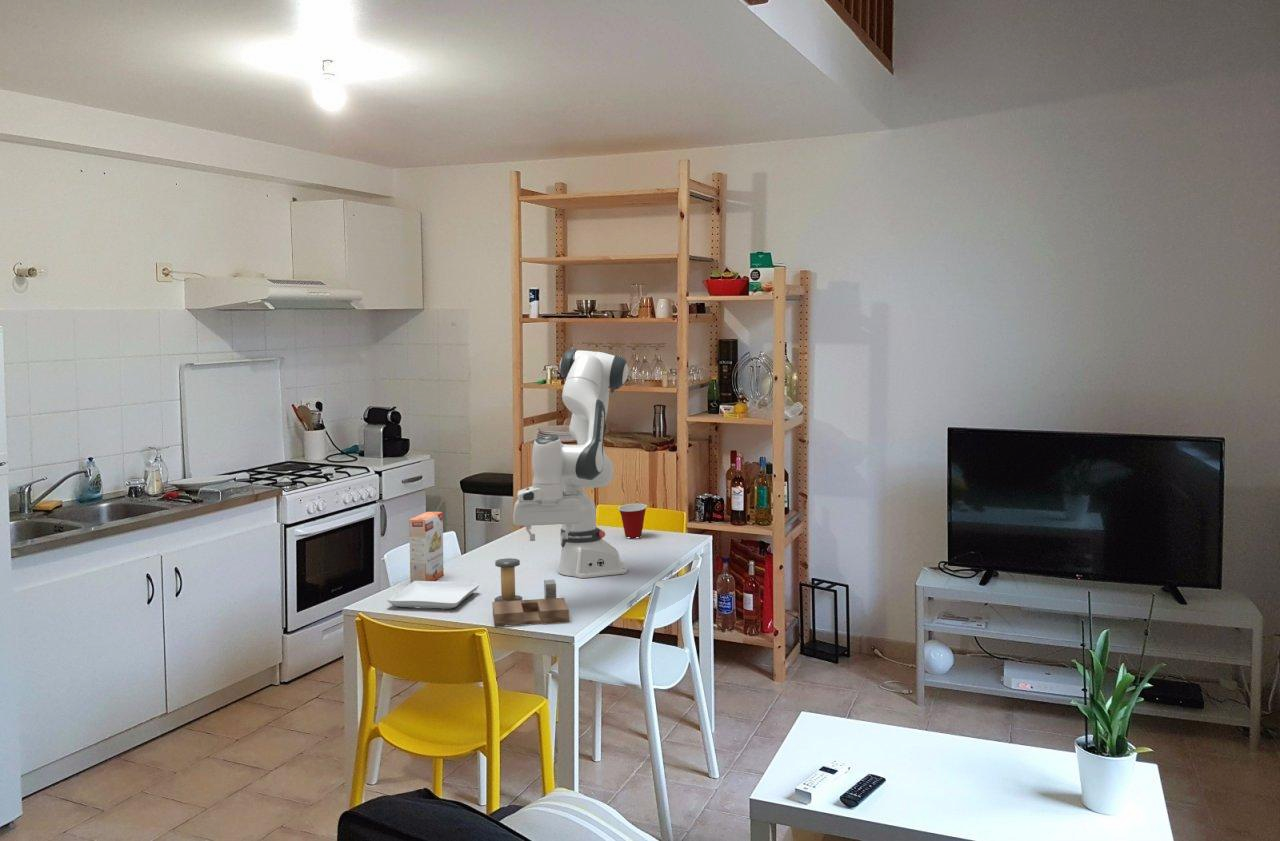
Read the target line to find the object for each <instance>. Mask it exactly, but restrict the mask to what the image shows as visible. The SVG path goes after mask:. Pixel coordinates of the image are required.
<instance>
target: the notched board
mask: <svg viewBox="0 0 1280 841" xmlns="http://www.w3.org/2000/svg"><path fill="white" fill-rule="evenodd" d="M491 605H492V619H493V618H494V619H493V625H494V627H495V628H498V626H501V627H506V626H505V625H516V626H522V625H521V624H531V625H541V623H546V624H558V623H557V622H561V623H570V608H569V606H568V604H567V602H566V599H565V598H564V597H556V598H550V599H544V598H537V599H534V598H533V599H522V600H518V601H502V602H495V601H492V604H491Z"/></svg>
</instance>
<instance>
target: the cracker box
mask: <svg viewBox="0 0 1280 841" xmlns="http://www.w3.org/2000/svg"><path fill="white" fill-rule="evenodd" d="M443 513H444V512H443V511H426V512H423V513H421V514H419V515H417V516H414V517H411V518H409V520H408V527H409V529H408V532H409V533H408V534H409V537H408V538H409V568H410V569H409V572H410V573H409V576H410V578H409V579H410V584H411V583H412V582H414V581H437V580H438V579H439V578H441V577H443V576H444V574H445V573H444V521H443V520H444V519H443V518H444V514H443Z"/></svg>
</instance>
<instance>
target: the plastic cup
mask: <svg viewBox="0 0 1280 841" xmlns="http://www.w3.org/2000/svg"><path fill="white" fill-rule="evenodd" d="M647 508H648V506H647V504H644V503H627V504H623V505H620V506H618V508H617V509H618V511H619V514H620V516H621V521H622V526H623V527H622V528H623V531H624V536H625V538H626V537H630V538H636V537H640V536H641V537H642V534H643V528H644V523H645V522H644V521H645V516H646V510H647Z"/></svg>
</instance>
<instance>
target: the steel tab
mask: <svg viewBox="0 0 1280 841" xmlns="http://www.w3.org/2000/svg"><path fill="white" fill-rule="evenodd" d="M543 589H544V591H543V594H544V598H543V599H550V598H557V583H556V580H555V579H544V580H543Z"/></svg>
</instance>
